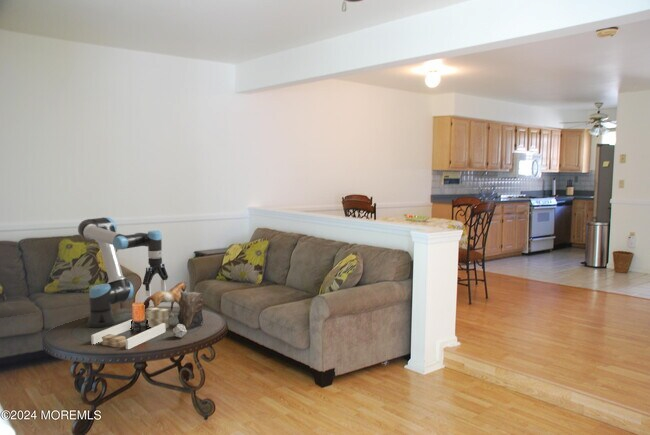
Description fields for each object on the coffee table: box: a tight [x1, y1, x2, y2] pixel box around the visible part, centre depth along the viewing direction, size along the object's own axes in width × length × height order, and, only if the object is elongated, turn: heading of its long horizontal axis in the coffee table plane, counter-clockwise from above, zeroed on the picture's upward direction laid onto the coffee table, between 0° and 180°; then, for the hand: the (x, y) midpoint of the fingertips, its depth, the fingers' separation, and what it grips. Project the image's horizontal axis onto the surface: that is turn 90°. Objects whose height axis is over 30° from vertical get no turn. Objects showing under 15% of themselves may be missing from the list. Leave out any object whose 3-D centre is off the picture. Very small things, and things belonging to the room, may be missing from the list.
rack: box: [90, 319, 166, 350], centre depth 297 cm, size 24×31×5 cm
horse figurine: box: [143, 281, 187, 317], centre depth 334 cm, size 31×8×21 cm, turn 128°
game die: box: [170, 321, 189, 340], centre depth 296 cm, size 9×8×10 cm
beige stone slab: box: [145, 306, 170, 329], centre depth 316 cm, size 13×4×11 cm, turn 70°
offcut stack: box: [100, 334, 126, 349], centre depth 286 cm, size 13×6×4 cm, turn 65°
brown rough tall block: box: [177, 291, 204, 331], centre depth 318 cm, size 13×13×20 cm
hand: (156, 293), depth 314 cm, fingers open, 13 cm apart
